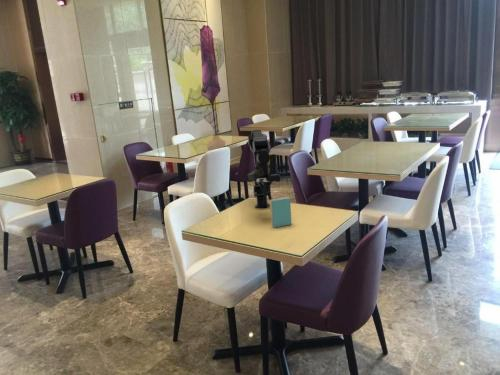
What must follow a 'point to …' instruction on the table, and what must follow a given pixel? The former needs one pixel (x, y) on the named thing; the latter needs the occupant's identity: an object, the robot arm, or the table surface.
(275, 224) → the tile
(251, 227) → the table surface
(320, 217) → the table surface
